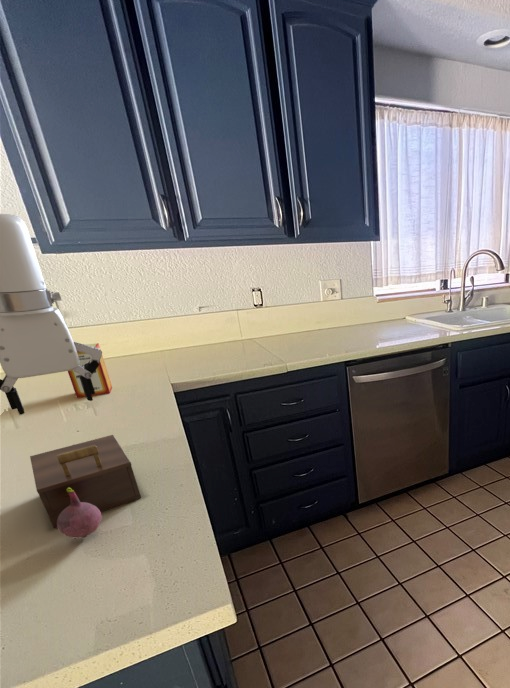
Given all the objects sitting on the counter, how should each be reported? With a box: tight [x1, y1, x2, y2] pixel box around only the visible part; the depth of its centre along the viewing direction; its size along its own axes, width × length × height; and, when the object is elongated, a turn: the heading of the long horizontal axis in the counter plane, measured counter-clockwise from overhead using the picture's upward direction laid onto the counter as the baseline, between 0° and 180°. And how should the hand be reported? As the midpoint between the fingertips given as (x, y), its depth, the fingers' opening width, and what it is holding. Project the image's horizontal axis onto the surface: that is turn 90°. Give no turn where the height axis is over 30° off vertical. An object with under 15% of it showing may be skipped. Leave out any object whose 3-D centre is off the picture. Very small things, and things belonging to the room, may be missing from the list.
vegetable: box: [56, 488, 102, 539], centre depth 73 cm, size 6×6×10 cm
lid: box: [29, 434, 132, 495], centre depth 82 cm, size 16×15×5 cm
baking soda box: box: [67, 342, 113, 399], centre depth 141 cm, size 10×6×16 cm
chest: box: [38, 465, 142, 529], centre depth 85 cm, size 16×15×8 cm
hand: (56, 405), depth 73 cm, fingers open, 9 cm apart
